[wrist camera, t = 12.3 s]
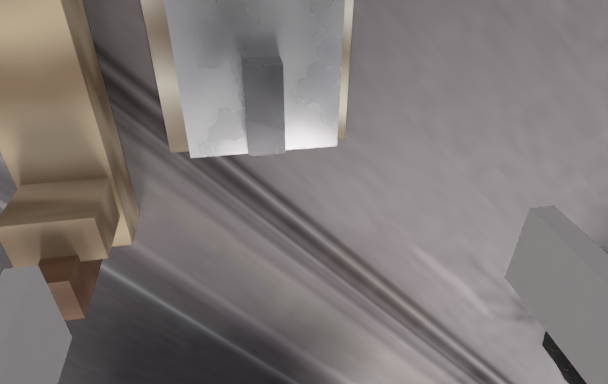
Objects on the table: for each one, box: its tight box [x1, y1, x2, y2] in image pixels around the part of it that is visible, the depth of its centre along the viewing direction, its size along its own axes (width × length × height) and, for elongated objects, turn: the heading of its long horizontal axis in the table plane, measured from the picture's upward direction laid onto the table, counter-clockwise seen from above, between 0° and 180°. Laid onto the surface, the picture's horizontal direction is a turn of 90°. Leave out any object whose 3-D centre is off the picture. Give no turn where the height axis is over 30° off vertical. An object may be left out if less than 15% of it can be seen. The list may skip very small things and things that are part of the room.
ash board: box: [140, 0, 354, 153], centre depth 26 cm, size 14×12×1 cm
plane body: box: [0, 0, 139, 321], centre depth 22 cm, size 23×6×10 cm, turn 0°
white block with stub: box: [164, 0, 345, 158], centre depth 24 cm, size 10×8×6 cm
